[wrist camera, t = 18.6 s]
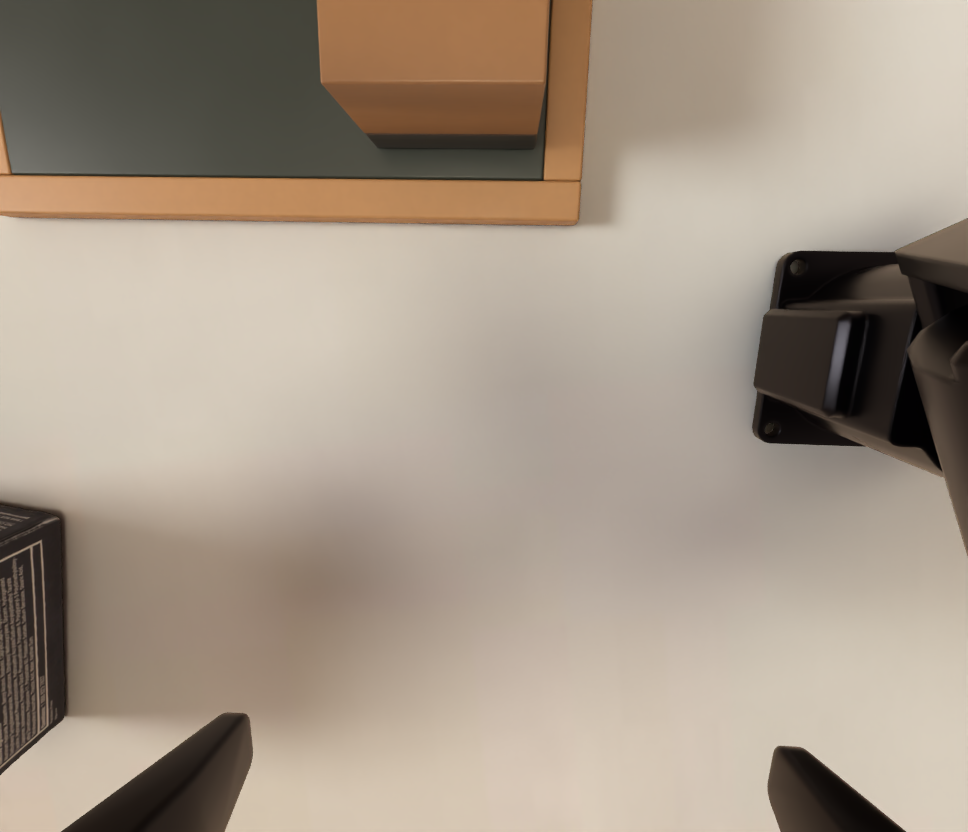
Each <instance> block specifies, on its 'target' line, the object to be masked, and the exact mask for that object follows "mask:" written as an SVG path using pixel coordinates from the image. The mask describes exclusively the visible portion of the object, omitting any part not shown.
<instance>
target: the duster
mask: <svg viewBox="0 0 968 832" xmlns="http://www.w3.org/2000/svg"><path fill="white" fill-rule="evenodd" d="M549 5H550V0H317V17H318V38H319V58H320V79H321V84H322V85H323V86H324V87H325V88H326V90H327V91H328V92H329V93H330V94H331V95H332V96H333V98H334V99H335V100H336V101H337V102H338V103H339V105H340V106H341V107H342V108H343V109H344V110H345V111H346V113H347V114H348V115H349V116H350V117H351V118H352V120H353V121H354V122H355V123H356V124H357V125H358V126H359V128H360V129H361V130H362V131H363V132H364V133H365V134H366V135H367V136H368V138H369V139H370V140H371V141H372V142H373V143H374V145H375V146H376V147H378V148H457V149H534V148H535V145H536V139H537V133H538V128H539V121H540V115H541V109H542V103H543V97H544V91H545V85H546V73H547V50H548V27H549Z"/></svg>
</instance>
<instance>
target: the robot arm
mask: <svg viewBox="0 0 968 832" xmlns="http://www.w3.org/2000/svg"><path fill="white" fill-rule="evenodd" d="M794 260H796V261H797V262H798V263H799V270H798V272H797V273H796V274H793V273H792V272H791V270H790V266H791V264H792V262H793V261H794ZM754 387H755V388H756V389H757V390H758V392H757V399H756V406H755V412H754V419H753V426H752V428H753V433H754V435H755V436H756V437H757V438H759V439H760V440H762V441H764V442H767V443H779V444H809V445H839V446H867V447H869V448H872V449H874V450H877V451H879V452H881V453H884V454H886V455H889V456H891V457H894V458H896V459H899V460H901V461H904V462H906V463H908V464H911V465H913V466H916V467H918V468H921V469H923V470H926V471H928V472H931V473H933V474H935V475H938V476H940V477H943V478H945V481H946V485H947V488H948V491H949V495H950V498H951V501H952V505H953V508H954V512H955V515H956V518H957V522H958V525H959V529H960V532H961V535H962V539H963V542H964V545H965V549H966V552H967V556H968V218H967V219H965V220H963V221H960V222H958V223H956V224H954V225H951V226H949V227H947V228H945V229H942V230H940V231H938V232H936V233H933V234H931V235H929V236H927V237H924V238H922V239H920V240H918V241H915V242H913V243H911V244H909V245H906V246H904V247H902V248H900V249H898V250H896V251H895V252H837V251H797V252H792V253H787V254H786V255H784V256H782V258H781V259H780V260H779V261H778V264H777V267H776V272H775V279H774V286H773V292H772V299H771V306H770V310H769V311H768V312H767V313H766V314H765V315H764V317H763V324H762V331H761V337H760V344H759V351H758V358H757V364H756V371H755V378H754ZM769 423H774V428H773V430H772V431H771V432H770V433H765V428H766V426H767V425H768V424H769ZM252 757H253V746H252V737H251V728H250V720H249V717H248V715H247V714H244V713H228V712H227V713H223V714H221V715H220V716H218V717H217V718H215V719H214V720H213V721H211V722H210V723H209V724H207V725H206V726H204V727H203V728H202V729H200V730H199V731H198V732H196V733H195V734H194V735H192V736H191V737H189V738H188V739H187V740H185V741H184V742H183V743H181V744H180V745H179V746H177V747H176V748H174V749H173V750H172V751H170V752H169V753H168V754H166V755H165V756H164V757H162V758H161V759H159V760H158V761H157V762H155V763H154V764H153V765H151V766H150V767H149V768H147V769H146V770H144V771H143V772H142V773H140V774H139V775H138V776H136V777H135V778H134V779H132V780H131V781H130V782H128V783H127V784H125V785H124V786H123V787H121V788H120V789H119V790H117V791H116V792H115V793H113V794H112V795H110V796H109V797H108V798H106V799H105V800H104V801H102V802H101V803H100V804H98V805H97V806H95V807H94V808H93V809H91V810H90V811H89V812H87V813H86V814H85V815H83V816H82V817H80V818H79V819H78V820H76V821H75V822H74V823H72V824H71V825H70V826H68V827H67V828H65V829H64V830H63V831H61V832H225V829H226V827H227V824H228V822H229V819H230V817H231V814H232V812H233V809H234V806H235V804H236V801H237V799H238V796H239V794H240V791H241V789H242V786H243V784H244V781H245V779H246V776H247V774H248V771H249V769H250V766H251V762H252ZM768 796H769V800H770V803H771V806H772V809H773V811H774V814H775V817H776V820H777V823H778V825H779V828H780V831H781V832H906V831H905V830H903V829H902V828H901V827H900V826H899V825H897V824H896V823H895V822H894V821H892V820H891V819H890V818H889V817H888V816H886V815H885V814H884V813H883V812H881V811H880V810H879V809H878V808H877V807H875V806H874V805H873V804H872V803H870V802H869V801H868V800H867V799H866V798H864V797H863V796H862V795H861V794H859V793H858V792H857V791H856V790H855V789H853V788H852V787H851V786H850V785H848V784H847V783H846V782H845V781H844V780H842V779H841V778H840V777H839V776H837V775H836V774H835V773H834V772H833V771H831V770H830V769H829V768H828V767H826V766H825V765H824V764H823V763H822V762H820V761H819V760H818V759H817V758H815V757H814V756H813V755H812V754H811V753H809V752H808V751H807V750H805V749H803V748H801V747H792V746H777V747H776V748H775V750H774V753H773V758H772V763H771V768H770V773H769V779H768Z"/></svg>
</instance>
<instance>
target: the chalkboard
mask: <svg viewBox="0 0 968 832" xmlns="http://www.w3.org/2000/svg"><path fill="white" fill-rule="evenodd" d="M591 16H592V0H550V5H549V27H548V50H547V73H546V85H545V91H544V97H543V103H542V109H541V115H540V121H539V128H538V133H537V139H536V145H535V148H534V149H457V148H378V147H376V146H375V145H374V143H373V142H372V141H371V140H370V139H369V138H368V136H367V135H366V134H365V133H364V132H363V131H362V130H361V129H360V128H359V126H358V125H357V124H356V123H355V122H354V121H353V120H352V118H351V117H350V116H349V115H348V114H347V113H346V111H345V110H344V109H343V108H342V107H341V106H340V105H339V103H338V102H337V101H336V100H335V99H334V98H333V96H332V95H331V94H330V93H329V92H328V91H327V90H326V88H325V87H324V86H323V85H322V84H321V79H320V58H319V38H318V17H317V0H0V215H3V216H9V217H36V218H104V219H172V220H240V221H309V222H377V223H445V224H513V225H575V224H576V223H577V221H578V220H579V211H580V195H581V183H580V181H581V178H582V163H583V146H584V130H585V114H586V97H587V81H588V65H589V48H590V32H591Z"/></svg>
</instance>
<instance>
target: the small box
mask: <svg viewBox="0 0 968 832" xmlns="http://www.w3.org/2000/svg"><path fill="white" fill-rule="evenodd" d="M61 568H62V566H61V532H60V519H59V518H58V517H56V516H55V515H51V514H47V513H45V512H39V511H29V510H24V509H22V508H14V507H9V506H4V505H0V775H1V774H2V773H3V772H4V771H5V770H6V769H7V768H8V767H9V766H10V765H11V764H12V763H14V762H15V761H16V760H17V759H18V758H19V757H20V756H21V755H23V754H24V753H25V752H26V751H27V750H28V749H30V748H31V747H32V746H33V745H34V744H36V743H37V742H38V741H39V740H40V739H41V738H42V737H43V736H44V735H45V734H46V733H47V732H48V731H50V730H51V729H52V728H54V727H55V726H56V725H57V724H58V723H60V722H61V721H62V720H63V719H64V716H65V702H64V696H65V693H64V657H63V650H64V649H63V614H62V572H61Z"/></svg>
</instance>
